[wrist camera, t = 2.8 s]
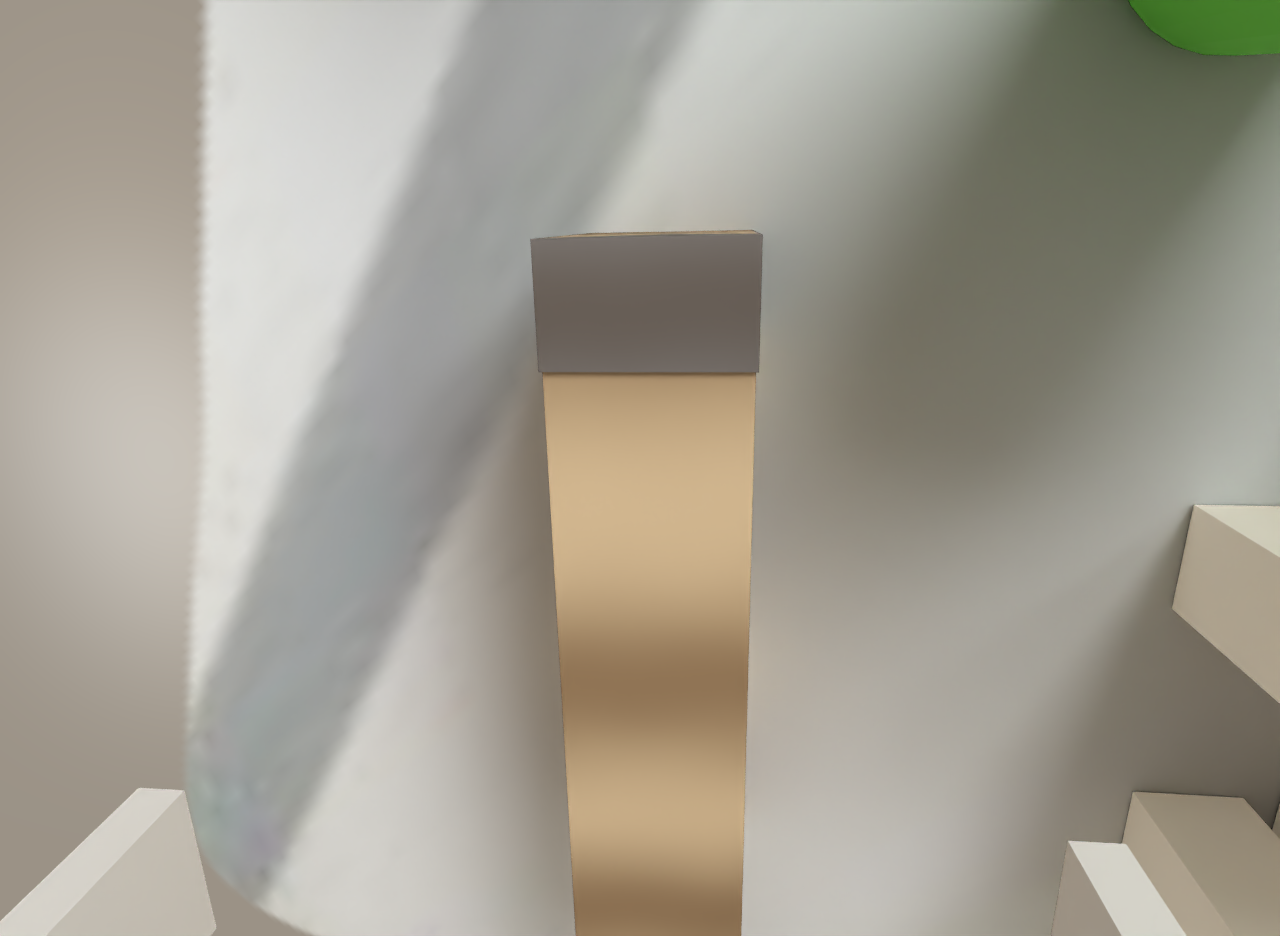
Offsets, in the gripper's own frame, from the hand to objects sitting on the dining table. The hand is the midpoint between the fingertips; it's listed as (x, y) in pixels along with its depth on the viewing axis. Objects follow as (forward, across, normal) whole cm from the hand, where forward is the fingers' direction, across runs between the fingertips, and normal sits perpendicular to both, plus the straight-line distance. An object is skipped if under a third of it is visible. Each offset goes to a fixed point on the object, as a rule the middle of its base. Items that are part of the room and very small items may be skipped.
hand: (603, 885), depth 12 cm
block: (+11, 0, 0) cm, 11 cm away
